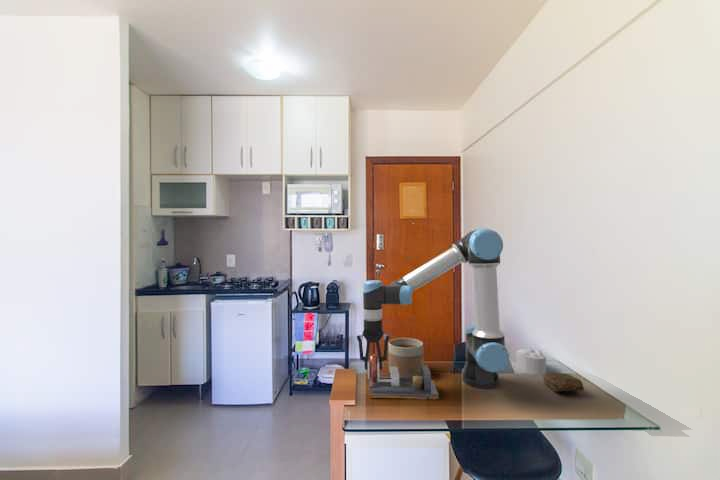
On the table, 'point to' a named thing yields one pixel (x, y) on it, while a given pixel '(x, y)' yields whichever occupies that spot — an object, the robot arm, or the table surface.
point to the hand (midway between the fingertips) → (373, 377)
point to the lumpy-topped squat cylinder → (531, 361)
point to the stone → (562, 382)
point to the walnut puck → (417, 382)
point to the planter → (406, 356)
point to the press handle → (382, 382)
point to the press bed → (409, 387)
